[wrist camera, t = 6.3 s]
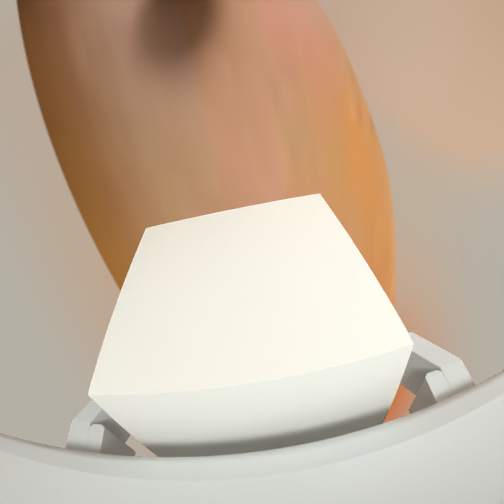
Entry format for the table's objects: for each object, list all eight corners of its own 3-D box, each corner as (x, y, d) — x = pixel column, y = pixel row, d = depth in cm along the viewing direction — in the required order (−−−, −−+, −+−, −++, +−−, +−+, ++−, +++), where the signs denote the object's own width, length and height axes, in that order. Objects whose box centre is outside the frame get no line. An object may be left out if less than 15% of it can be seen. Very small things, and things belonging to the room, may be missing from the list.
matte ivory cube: (146, 227, 12) (87, 394, 6) (319, 193, 12) (413, 343, 5) (194, 342, 16) (189, 479, 9) (325, 318, 16) (369, 451, 9)
